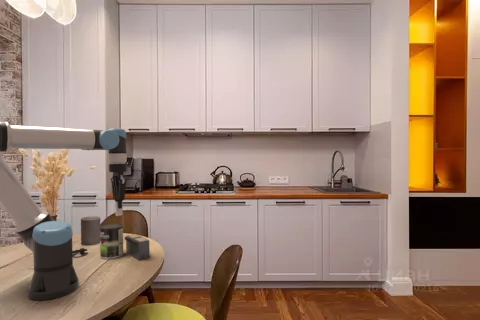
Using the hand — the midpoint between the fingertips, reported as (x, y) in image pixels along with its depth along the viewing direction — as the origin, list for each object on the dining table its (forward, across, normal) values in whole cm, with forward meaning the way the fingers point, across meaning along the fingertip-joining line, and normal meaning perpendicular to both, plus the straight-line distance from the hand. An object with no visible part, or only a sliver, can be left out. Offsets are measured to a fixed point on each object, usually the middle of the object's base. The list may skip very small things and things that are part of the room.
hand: (119, 215), depth 136 cm
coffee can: (+21, +9, 0) cm, 23 cm away
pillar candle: (+21, +39, +1) cm, 44 cm away
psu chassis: (+20, +1, -9) cm, 22 cm away
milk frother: (+21, +25, +16) cm, 36 cm away
